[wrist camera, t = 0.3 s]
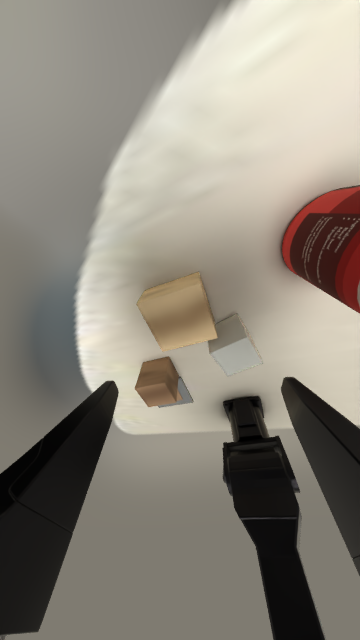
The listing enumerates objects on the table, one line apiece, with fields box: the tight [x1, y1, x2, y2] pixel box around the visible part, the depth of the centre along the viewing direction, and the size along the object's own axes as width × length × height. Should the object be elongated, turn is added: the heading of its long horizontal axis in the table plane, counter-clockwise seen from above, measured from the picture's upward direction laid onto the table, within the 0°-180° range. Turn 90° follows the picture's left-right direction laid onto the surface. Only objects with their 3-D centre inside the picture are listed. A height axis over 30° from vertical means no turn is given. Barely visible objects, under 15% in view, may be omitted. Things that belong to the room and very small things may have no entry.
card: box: [158, 377, 193, 408], centre depth 32 cm, size 7×7×1 cm
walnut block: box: [135, 357, 179, 407], centre depth 27 cm, size 4×4×5 cm
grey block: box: [208, 314, 263, 376], centre depth 22 cm, size 4×4×5 cm
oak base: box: [137, 272, 218, 352], centre depth 21 cm, size 7×7×4 cm
